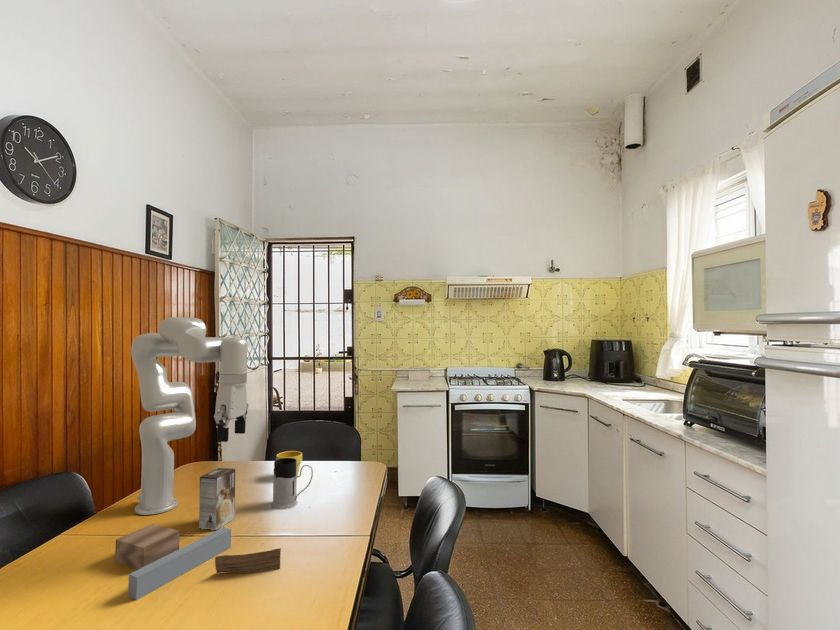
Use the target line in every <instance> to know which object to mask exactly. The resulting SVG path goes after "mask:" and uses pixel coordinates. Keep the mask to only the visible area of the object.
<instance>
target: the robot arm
mask: <svg viewBox="0 0 840 630" xmlns="http://www.w3.org/2000/svg"><path fill="white" fill-rule="evenodd" d="M157 329H158V332H152V333H149V332H148V333H142V334H140V335H137V336H136V337H135V338H134V339H133V340H132V342H131V349H130V355H131V359H132V362H133V365H134V366H135V369H136V373H137V376H138V384H139V393H140V402H141V406H142V408H143V410H144V411H147V412H160V411H166V410H167V411H168V410H173V409H174V411H175V412H167V413H161V414H155V415H152V416H148V417H146V418H145V419H143V420H142V421H141V423H140V425H139V428H138V431H139V438H140V444H141V480H140V483H141V484H140V494H137V495H136V497H135V498H136V499H137V500H139V503H138V504H137V505H136V506H135V507H134V513H135V514H137V515H140V516H151V515H157V514H163V513H165V512H168V511H171V510H173V509H175V508H176V507H177V506H178V505H179V504H178V503H179V500H178V498H175V497H174V480H175V479H174V474H175V473H174V471H175V453H174V450H173V449H172V448H171V446H170V445H169V443H168V442H171V441H175V440H181V439H183V438H184V439H185V438H188V437H190V436H192V435H193V434H195V433H194V432H195V431H196V427H197V420H196V411H195V404H194V396H193V392H192V389H191V387H190V385H188V384H187V383H186V382H183V381H173V382H171V381H169V380H168V373H167V369H166V367H165V366H164V365H163V364H162V363H161V362H160V360H158V359H157V358H166V357H168V358H172V357H183V358H184V359H186V360H188V361H190V362H193V363H215V362H217V363H219V381H218V382H219V383H218V388H217V393H216V394H217V395H216V399H215V400H216V401H215V408H214V409H215V410H214V411H215V413H214V415H213V418H214V422H215V423H214V424H215V425H216V426H215V427H216V442H219V443H228V441H229V435H230V434H229V433H230V432H229V430H230V427H229V424H230V421H231V420H234V419H235V420H234V434H243V435H244V434H245V433H246V422H247V421H246V420H247V414H248V408H249V404H248V402H247V401H248V399H247V382H248V381H247V379H248V374H247V373H248V348H249V347H248V345H249V344H248V341H247V340H246V338H245V339H244V338H232V337H225V336H224V337H223V336H221V337H220V336H219V337H217V336H216V337H215V336H213V337H212V336H210V337H208V336H206V335H207V325H206V324H205V322H204V321H203V320H202V319H200V318H198V317H184V316H183V317H181V316H179V317H178V316H176V317H175V316H174V317H173V316H171V317H168V318H165V319H164V320H162V321H160V323H159V325H158V328H157Z"/></svg>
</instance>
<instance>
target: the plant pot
mask: <svg viewBox="0 0 840 630" xmlns="http://www.w3.org/2000/svg"><path fill="white" fill-rule="evenodd" d="M275 458H276V459H275V461H276V460H278V459H282V458H294V459H296V474H297V476H299V473H300V468H301V463H302V462H303V452H301V451H300V450H299V451H298V450H287V451H283V452H279V453H278V454H276V457H275Z"/></svg>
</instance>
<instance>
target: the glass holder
mask: <svg viewBox="0 0 840 630" xmlns="http://www.w3.org/2000/svg"><path fill="white" fill-rule="evenodd" d="M304 467H309V468H310V471H311V474H310V475H311V476H310V480H309V482H308V483H307V485H306V486H305V487H304V488H303V489H302V490H301V491H299V492H298V493H297V484H298V483H297V482H298V481H297V479H298V478H300V477H301V476H302V471H303V468H304ZM313 475H314V470H313V467H312V466H311V465H309V464H305V465H302V467H300V469H299V475H298V476H297V474H296V459H294V458H282V459H278V460H276V459H275V460H274V462H273V483H272V485H273V487H272V492H273V493H272V496H273V497H272V503H271V508H273V509H275V510H288V509H292V508H294V507H296V506H297V505H298V501H297V499H298V496H299V495H300V494H302V493H303V492H304V491H305V490H306V489H307V488H308V487H309V486H310V484H311V483H312V481H313V477H314V476H313ZM291 507H292V508H291ZM287 508H288V509H287Z"/></svg>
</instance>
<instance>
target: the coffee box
mask: <svg viewBox="0 0 840 630" xmlns="http://www.w3.org/2000/svg"><path fill="white" fill-rule="evenodd" d="M198 504H199V505H198V506H199V508H198V509H199V511H198V512H199V513H198V514H199V515H198V529H199V528H201V529H200V530H204V529H211V530H210V531H214V530H217V529H218V530H219V528H220V527H221V528H223V527H225V525H226V524H228V523H230V522H231V521H232V520H234V519H235V517H236V516H235V515H236V514H235V513H236V468H227V467H217V468H216V469H213V470H211V471H209V472H207V473H205V474H203V475H200V476H199V503H198ZM221 528H220V529H221Z"/></svg>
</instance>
